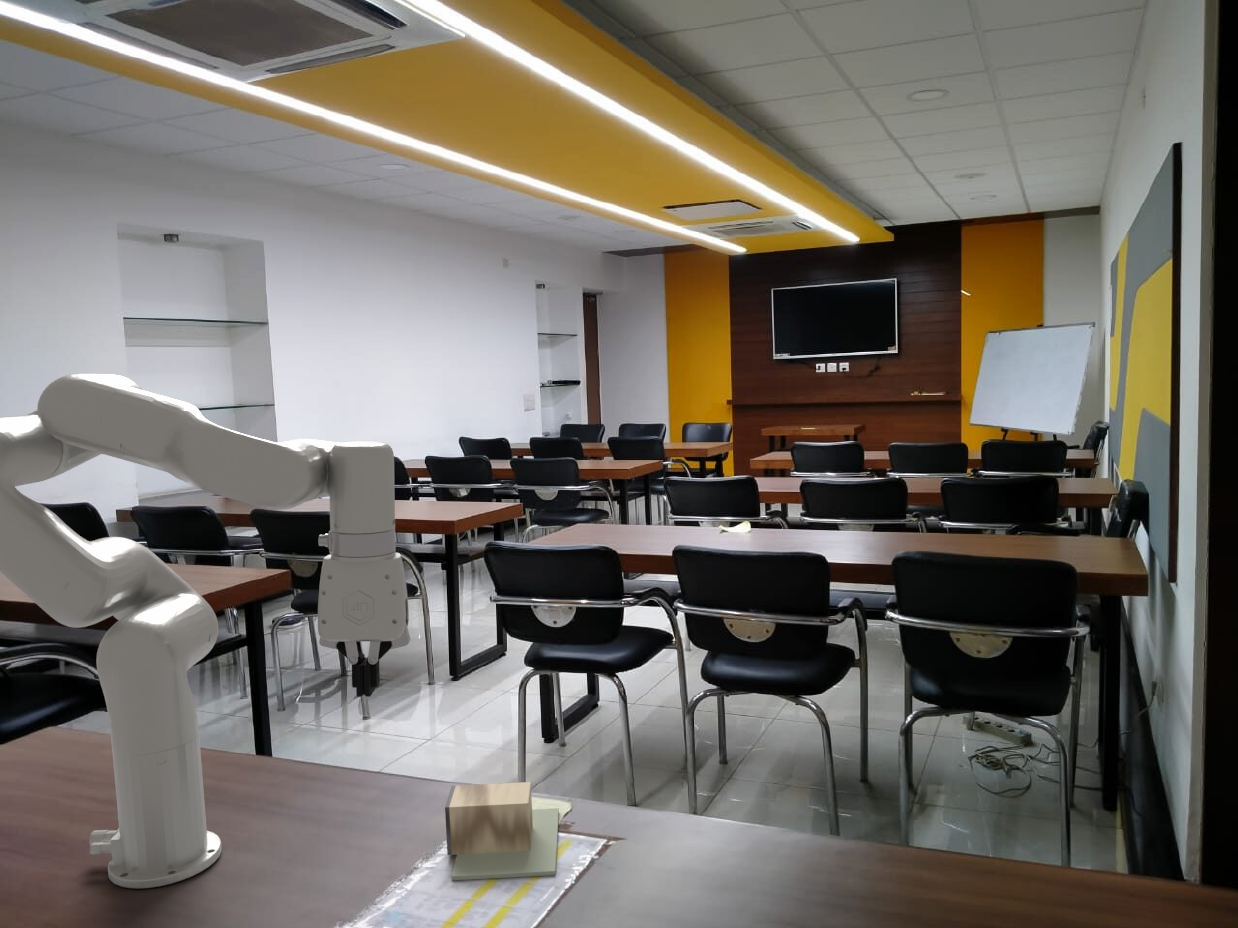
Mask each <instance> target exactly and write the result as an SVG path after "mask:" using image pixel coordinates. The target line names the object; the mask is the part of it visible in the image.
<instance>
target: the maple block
mask: <svg viewBox="0 0 1238 928" xmlns="http://www.w3.org/2000/svg"><path fill="white" fill-rule="evenodd" d="M532 799H533V798H532V782H531V781H527V782H526V781H525V782H524V781H523V782H521V781H520V782H507V783H506V782H505V783H503V782H502V783H487V784H485V783H484V784H483V783H482V784H467V785H466V784H464V785H451V787H450V790H449V793H448V797H447V800H446V803H445V806H444V811H445V813H444V814H445V831H446V832H445V834H446V850H447V853H446V855H447V856H454V855H456V856H457V855H458V854H478V853H497V852H516V851H530V849H531V839H532V830H533V821H532V810H533V807H532V806H533V803H532V801H533V800H532Z"/></svg>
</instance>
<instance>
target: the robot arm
mask: <svg viewBox="0 0 1238 928" xmlns="http://www.w3.org/2000/svg"><path fill="white" fill-rule="evenodd" d="M101 455H106V456H108V457H113V458H117V459H120V460H123V461H127V462H129V463H130V462H131V463H134V464H137V465H140V466H145V467H148V468H152V469H155V470H159V471H161V472H165V473H168V474H170V475H172V476H173V477H174V478H175V479H177V480H178V479H179V480H181V481H183V482H185V483H187V484H189V485H190V486H191V485H192V486H193V487H195V488H196V489H200V490H203V491H205V492H208V493H211V494H213V495H216V496H219V497H223V498H226V499H230V500H234V501H237V502H241V503H245V504H247V505H248V504H249V505H252V506H257V507H260V508H264V509H271V510H288V509H292V508H295V507H298V506H301V505H302V504H304V503H306V502H311V501H313V500H317V499H320V498H327V497H329V525H330V526H329V528H330V529H329V531H328V533H325V534H319V535H318V538H317V539H318V541H317V542H318V546H319V547H326V548H327V549H328V550H329V551H328V552H329V554H327V555H326V556H324V557H323V559H322V566H321V572H320V576H319V577H320V580H319V589H318V590H319V592H318V603H317V631H318V632H317V633H318V636H319V640H318V643H319V645H320V646H321V647H324V648H327V649H328V648H329V649H334V650H338V651H339V652H340V654H342V656H343V657H345V658H346V659H347V662H348V663H349V664H350V665H351V686H352V688H354V689H356V690H355V691H356V697H358V698H362V696H365V697H368V698H369V697H371V696H372V695H373V693H374V692H375V690H376V688H379V686H380V681H381V680H380V678H381V677H380V676H381V675H380V660H381V659H382V658H383V657H384V656H386V655H385V654H387V653H388V652H389V651H390V650H392V649H398V648H402V647H406V646H408V645H409V643H410V641H411V635H410V631H409V629H408V626H409V618H410V617H409V615H410V614H409V599H408V589H407V581H406V579H407V578H406V574H405V567H404V562H403V558H402V555H401V554H400V553H399V552H396V506H395V505H396V503H395V501H396V500H395V496H396V495H395V491H396V490H395V455H394V451H393V448H392V447H391V445H389V444H388V443H386V442H383V441H375V440H372V441H371V440H358V441H357V440H355V441H354V440H353V441H344V442H334V441H328V440H321V439H320V440H319V439H313V438H295V439H290V440H284V441H281V442H279V441H278V442H274V441H271V440H267V439H263V438H259V437H256V436H251V435H249V434H245V433H241V432H239V431H236V430H231V429H229V428H226V427H223V426H221V425H219V424H218V425H217V424H216V423H214V422H212V421H210V420H208V419H207V418H205V417H204V415H203V414H202V412H201V411H200V409H199V407H197V406H196V405H194V404H191V403H190V402H188V401H187V402H186V401H183V400H179V399H176V398H172V397H169V396H166V395H161V394H157V393H154V392H150V391H147V390H143V388H142V387H141V386H140V385H138V383H136V382H135V381H133V380H131V378H128V377H125V376H122V375H118V374H114V373H74V374H73V373H72V374H68V375H64V376H60V377H58V378H56V379H55V380H53V381H52V382H50V383H49V384H48V385H47V386H46V387H45V389H44V390H43V391H42V392H41V395H40V396H39V399H38V403H37V409H36V410H34V411H33V412H30V413H27V414H23V415H12V416H10V415H9V416H0V573H1V574H2V575H3V576H4V577H5V578H6V579H8V580H9V581H10V582H11V583H12V584H13V585H14V586H15V587H17V589H19V590H20V591H21V592H22V593H24V595H25V596H27V597H28V598H29V599H30V600H32V601H33V602H34V603H35V604H36V605H37V606H38V607H39V608H41V609H42V611H44V612H45V613H46V614H47V615H48V616H49V617H51V618H52V619H53V620H54V621H55V622H57V623H59V624H61V625H63V626H65V627H69V628H86V627H88V626H92V625H96V624H98V623H100V622H102V621H105V620H106V619H108V618H111V617H112V616H113V618H115V619H116V620H117V621H116V622H115V623H114V624H113V625H112V626H111V627H110V628H108V630H107V632H106V633H105V634H104V635H103V637H102V639H101V640H100V643H99V645H98V648H97V652H96V660H95V661H96V671H97V676H98V680H99V684H100V686H101V689H102V693H103V696H104V701H105V705H106V709H107V715H108V723H109V731H110V743H111V750H112V751H111V753H112V764H113V773H114V783H115V797H116V808H117V810H116V811H117V819H118V820H117V821H118V828H117V830H110V829H98V830H97V829H96V830H93V831H91V833H90V834H89V835H90V836H89V840H88V841H89V854H91V856H92V855H94V856H95V855H103V854H109V855H110V856H112V858H111V859H110V861H109V862H108V866H107V872H108V873H107V875H108V878H109V880H110V882H112V883H113V884H114V885H117V886H119V887H122V888H128V889H152V888H156V887H162V886H163V887H164V886H167V885H171V884H175V883H178V882H181V881H184V880H186V879H189V878H191V877H193V876H195V875H197V874H200V873H202V872H203V871H204V870H206V869H208V868H209V867H210V866H212V865H213V864H214V863H215V862H216V861H217V860H218V859H219V858H220V856H221V853H222V848H223V847H222V840H221V838H220V836H219V835H217V834H216V833H214V832H213V831H209V830H208V829H207V817H206V807H205V806H206V805H205V803H206V802H205V793H204V780H203V779H204V778H203V765H202V755H201V754H202V753H201V740H200V730H199V718H198V712H197V704H196V700H195V698H194V695H193V692H192V690H191V687H190V683H189V680H188V673H187V672H188V671H189V670H190V669H191V668H192V667H194V665H196V664H197V663H198V662H200V661H201V660H202V659H204V658H205V657H206V656H207V655H208V654H210V652H211V651H212V649H213V648H214V646H215V644H216V642H217V640H218V636H219V621H218V618H217V615H216V613H215V612H214V609H213V608H212V606H211V605H210V603H208V601H206V599H205V598H204V597H203V596H202V595H201V594H200V593H199V592H197V590H195V588H193V587H192V586H191V585H190V584H189V583H187V581H185V580H184V579H183V578H182V577H181V576H180V575H179V574H178V573H177V572H175V571H174V570H173V569H172V568H171V567H170V566H168V565H167V563H166V562H165V561H163V560H162V559H161V558H160V557H159V556H157V555H156V554H155V552H153V551H152V550H150V548H148V547H147V546H145V545H143V544H141V543H139V542H138V541H135V540H133V539H130V538H126V537H121V536H109V537H108V536H106V537H102V538H97V539H95V540H94V539H93V540H90V541H89V540H87V539H86V538H84V537H83V536H80V534H78V533H77V532H76V531H74V530H73V529H72V528H71V527H70V526H69V525H67V524H66V523H65V522H64V521H63V520H62V519H61V518H60V517H59V516H58V515H57V514H56V513H55V512H53V510H50V509H49V508H47V507H46V506H45V505H42V504H40V503H39V502H37V501H36V500H33V499H32V498H30V497H28V496H26V495H24V494H23V493H22V492H20V490H18V489H17V487H19V486H24V485H29V484H30V485H31V484H36V483H40V482H44V481H47V480H49V479H52V478H53V479H54V478H55V477H57V476H60V475H62V474H64V473H66V472H69V471H70V470H72V469H74V468H76V467H78V466H79V465H82V464H84V463H86V462H88V461H90V460H92V459H94V458H96V457H99V456H101ZM362 642H369V647H368V655H367V657H366V656H365V654H364V650H363V644H362Z"/></svg>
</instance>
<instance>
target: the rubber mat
mask: <svg viewBox="0 0 1238 928" xmlns="http://www.w3.org/2000/svg"><path fill="white" fill-rule="evenodd" d="M559 810H560V808H558V807H557V808H555V807H554V808H541V809H540V808H537V809H535V808H534V809H532V821H533V830H532V839H531V849H530V851H516V852H497V853H478V854H458V855H456V858H455V861H454V865H453V869H452V873H451V881H466V880H487V879H488V880H489V879H490V880H491V879H503V878H504V879H507V878H523V877H524V878H526V877H541V876H542V877H543V876H544V877H547V876H556V869H557V854H558V853H557V850H558V849H557V848H558V834H559V833H558V831H559V814H560V811H559Z"/></svg>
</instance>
